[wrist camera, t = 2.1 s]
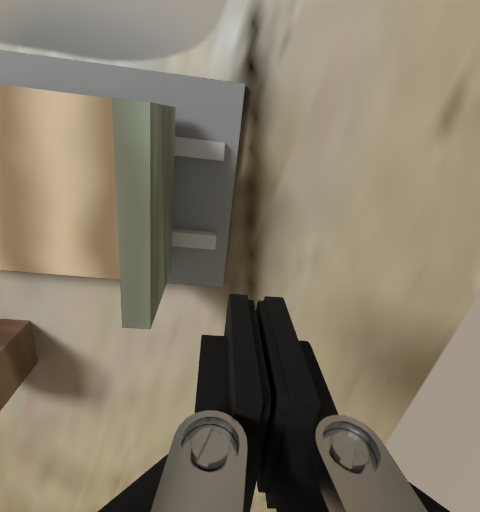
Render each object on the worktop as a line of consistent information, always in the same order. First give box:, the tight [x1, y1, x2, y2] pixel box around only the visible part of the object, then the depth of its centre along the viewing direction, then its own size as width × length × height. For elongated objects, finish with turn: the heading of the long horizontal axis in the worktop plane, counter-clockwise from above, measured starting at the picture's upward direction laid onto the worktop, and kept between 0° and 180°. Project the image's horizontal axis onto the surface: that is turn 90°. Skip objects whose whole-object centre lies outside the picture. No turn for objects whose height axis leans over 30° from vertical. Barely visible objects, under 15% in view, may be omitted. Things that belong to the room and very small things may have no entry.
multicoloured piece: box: [0, 84, 176, 329], centre depth 19 cm, size 18×12×9 cm
